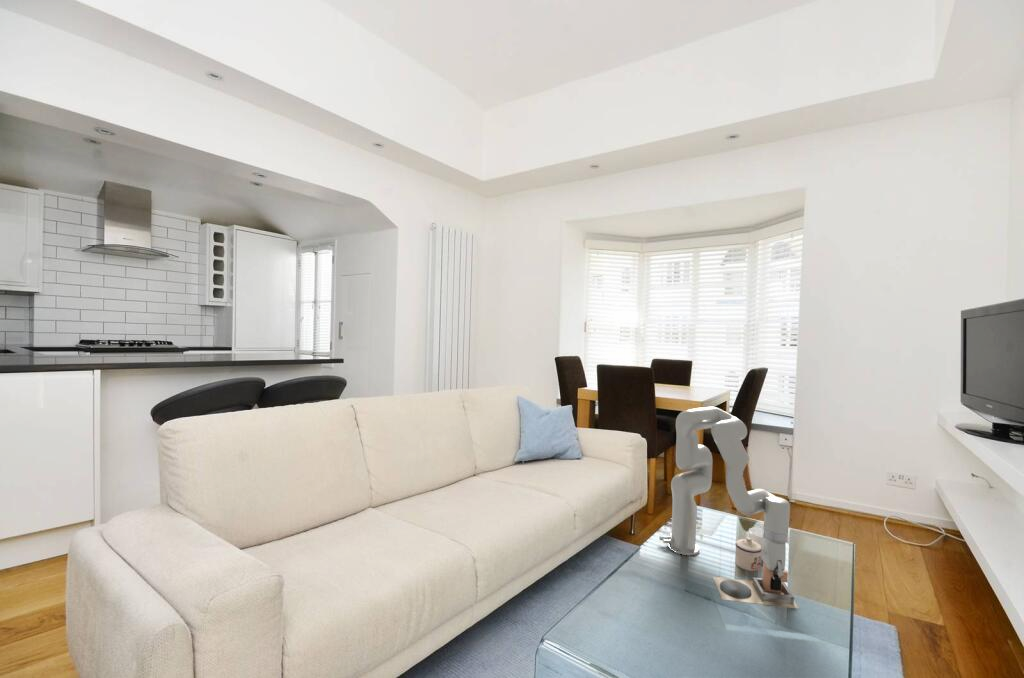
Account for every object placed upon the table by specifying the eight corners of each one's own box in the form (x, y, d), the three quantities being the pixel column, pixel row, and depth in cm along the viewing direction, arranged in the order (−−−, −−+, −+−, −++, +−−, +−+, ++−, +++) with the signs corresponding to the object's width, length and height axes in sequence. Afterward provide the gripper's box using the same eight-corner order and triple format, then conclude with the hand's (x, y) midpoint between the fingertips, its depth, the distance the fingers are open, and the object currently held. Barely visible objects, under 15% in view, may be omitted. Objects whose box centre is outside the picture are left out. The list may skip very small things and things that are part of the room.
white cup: (764, 551, 199) (765, 528, 198) (772, 562, 191) (774, 537, 191) (744, 550, 200) (745, 527, 199) (751, 560, 192) (753, 536, 191)
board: (721, 602, 164) (722, 592, 164) (712, 579, 178) (713, 570, 178) (799, 612, 160) (799, 601, 160) (783, 587, 174) (784, 577, 173)
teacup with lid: (755, 576, 180) (757, 546, 180) (730, 567, 187) (732, 537, 186) (767, 565, 189) (768, 536, 188) (742, 556, 195) (744, 528, 194)
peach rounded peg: (764, 596, 166) (766, 568, 165) (759, 586, 172) (761, 558, 171) (788, 599, 164) (791, 570, 164) (782, 588, 170) (784, 561, 169)
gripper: (755, 521, 175) (752, 569, 177) (772, 545, 159) (768, 597, 160) (778, 523, 174) (774, 571, 176) (797, 547, 157) (793, 600, 159)
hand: (771, 583), depth 168 cm, fingers closed on peach rounded peg, 6 cm apart
